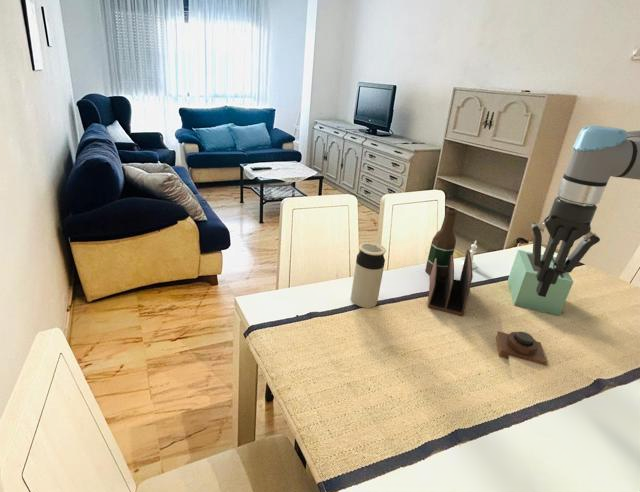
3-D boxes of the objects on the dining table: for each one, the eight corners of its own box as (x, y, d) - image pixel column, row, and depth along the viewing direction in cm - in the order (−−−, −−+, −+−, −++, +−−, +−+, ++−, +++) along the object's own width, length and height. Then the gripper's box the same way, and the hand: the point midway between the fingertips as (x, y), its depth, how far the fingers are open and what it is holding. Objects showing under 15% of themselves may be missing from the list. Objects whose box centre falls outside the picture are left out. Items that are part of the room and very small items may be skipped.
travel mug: (366, 312, 111) (375, 257, 104) (345, 299, 117) (352, 246, 110) (382, 302, 116) (392, 249, 109) (361, 290, 122) (369, 239, 114)
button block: (538, 348, 100) (542, 336, 99) (544, 369, 94) (549, 356, 92) (495, 337, 104) (499, 325, 102) (498, 356, 97) (503, 344, 95)
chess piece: (459, 264, 141) (466, 240, 137) (464, 260, 145) (471, 236, 141) (473, 269, 138) (480, 245, 134) (478, 265, 142) (485, 241, 138)
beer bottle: (426, 277, 132) (442, 212, 122) (423, 266, 139) (437, 203, 129) (450, 280, 131) (467, 214, 121) (445, 268, 138) (461, 206, 128)
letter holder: (460, 284, 129) (471, 246, 123) (463, 317, 112) (475, 275, 106) (429, 276, 132) (438, 239, 126) (427, 307, 115) (437, 266, 109)
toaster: (548, 289, 128) (560, 257, 123) (559, 316, 115) (574, 281, 110) (507, 280, 132) (518, 249, 127) (514, 305, 119) (526, 271, 114)
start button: (529, 339, 98) (531, 333, 97) (532, 348, 95) (534, 342, 94) (513, 335, 99) (516, 329, 99) (516, 343, 96) (518, 338, 96)
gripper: (606, 200, 83) (568, 292, 93) (538, 190, 88) (508, 279, 97) (620, 211, 77) (577, 309, 86) (545, 200, 81) (512, 294, 91)
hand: (540, 293), depth 92 cm, fingers closed
